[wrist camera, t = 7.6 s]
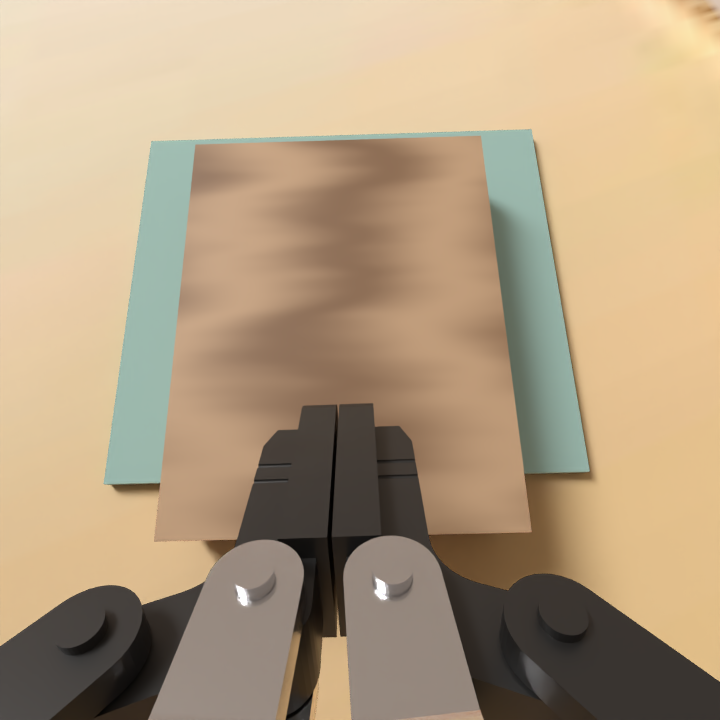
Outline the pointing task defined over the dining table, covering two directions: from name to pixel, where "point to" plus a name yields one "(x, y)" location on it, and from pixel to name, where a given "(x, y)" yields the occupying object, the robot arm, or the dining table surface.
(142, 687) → the robot arm
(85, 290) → the dining table surface
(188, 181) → the mat
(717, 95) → the dining table surface
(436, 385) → the wooden block
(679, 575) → the dining table surface
